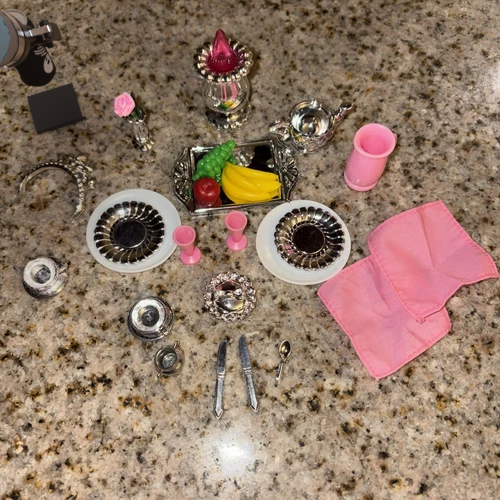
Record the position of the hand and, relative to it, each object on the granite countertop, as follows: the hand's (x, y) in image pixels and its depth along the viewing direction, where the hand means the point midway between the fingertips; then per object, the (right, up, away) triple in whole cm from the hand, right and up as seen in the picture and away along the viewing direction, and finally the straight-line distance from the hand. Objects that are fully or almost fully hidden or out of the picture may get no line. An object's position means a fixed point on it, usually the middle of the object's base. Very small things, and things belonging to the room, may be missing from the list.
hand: (26, 44), depth 87 cm
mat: (-2, -6, +19) cm, 20 cm away
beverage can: (+1, -5, +3) cm, 5 cm away
